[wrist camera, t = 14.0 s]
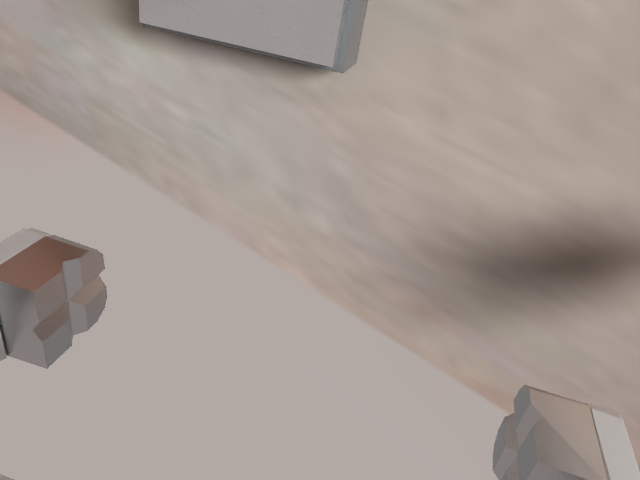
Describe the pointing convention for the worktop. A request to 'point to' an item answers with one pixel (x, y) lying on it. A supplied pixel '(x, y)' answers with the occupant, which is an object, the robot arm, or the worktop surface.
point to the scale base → (345, 61)
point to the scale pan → (258, 24)
